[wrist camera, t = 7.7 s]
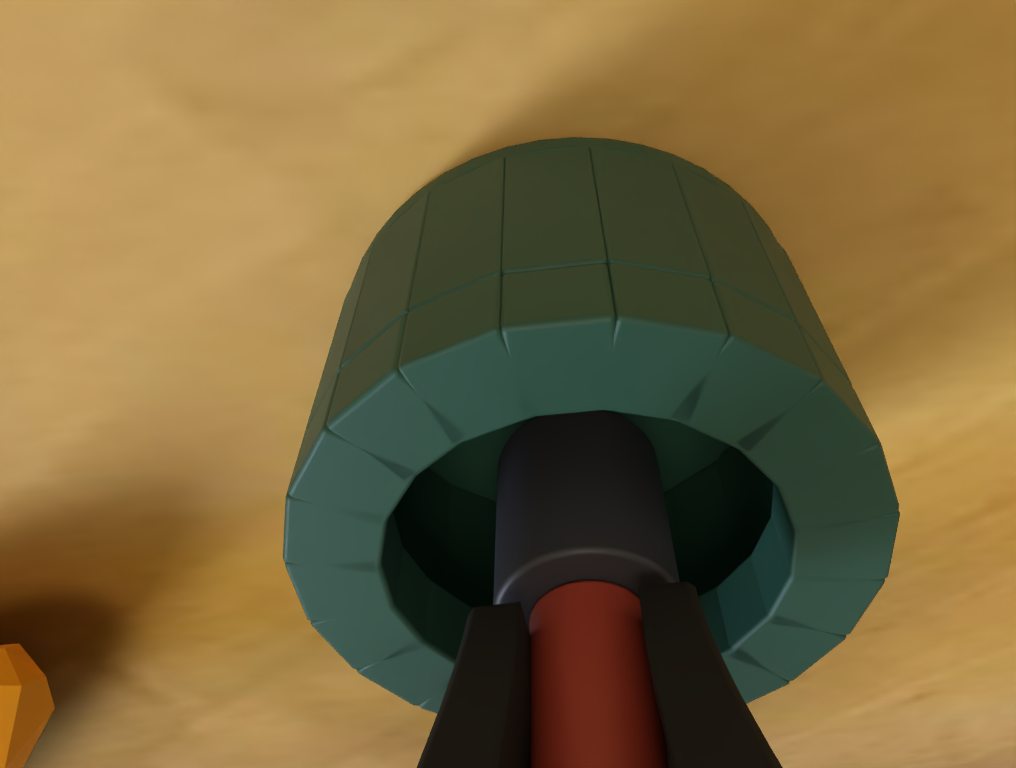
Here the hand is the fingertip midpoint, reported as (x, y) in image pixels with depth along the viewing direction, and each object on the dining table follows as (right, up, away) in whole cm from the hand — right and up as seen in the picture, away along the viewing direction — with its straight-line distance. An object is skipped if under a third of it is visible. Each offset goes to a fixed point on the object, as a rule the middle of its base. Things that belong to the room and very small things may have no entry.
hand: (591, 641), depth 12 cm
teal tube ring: (0, +4, +5) cm, 7 cm away
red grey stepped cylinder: (0, +2, +3) cm, 3 cm away
